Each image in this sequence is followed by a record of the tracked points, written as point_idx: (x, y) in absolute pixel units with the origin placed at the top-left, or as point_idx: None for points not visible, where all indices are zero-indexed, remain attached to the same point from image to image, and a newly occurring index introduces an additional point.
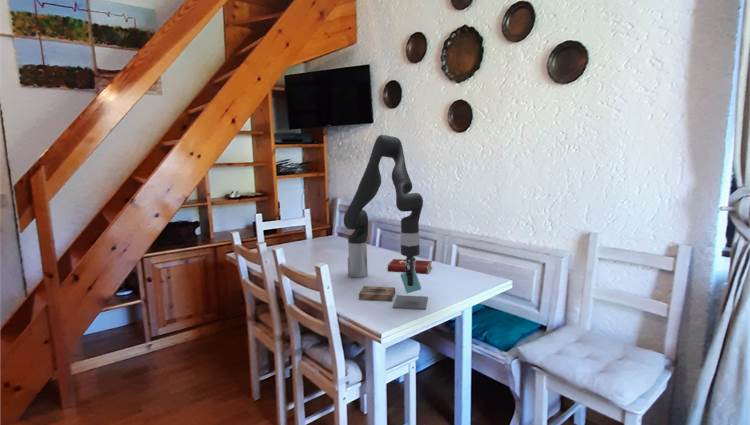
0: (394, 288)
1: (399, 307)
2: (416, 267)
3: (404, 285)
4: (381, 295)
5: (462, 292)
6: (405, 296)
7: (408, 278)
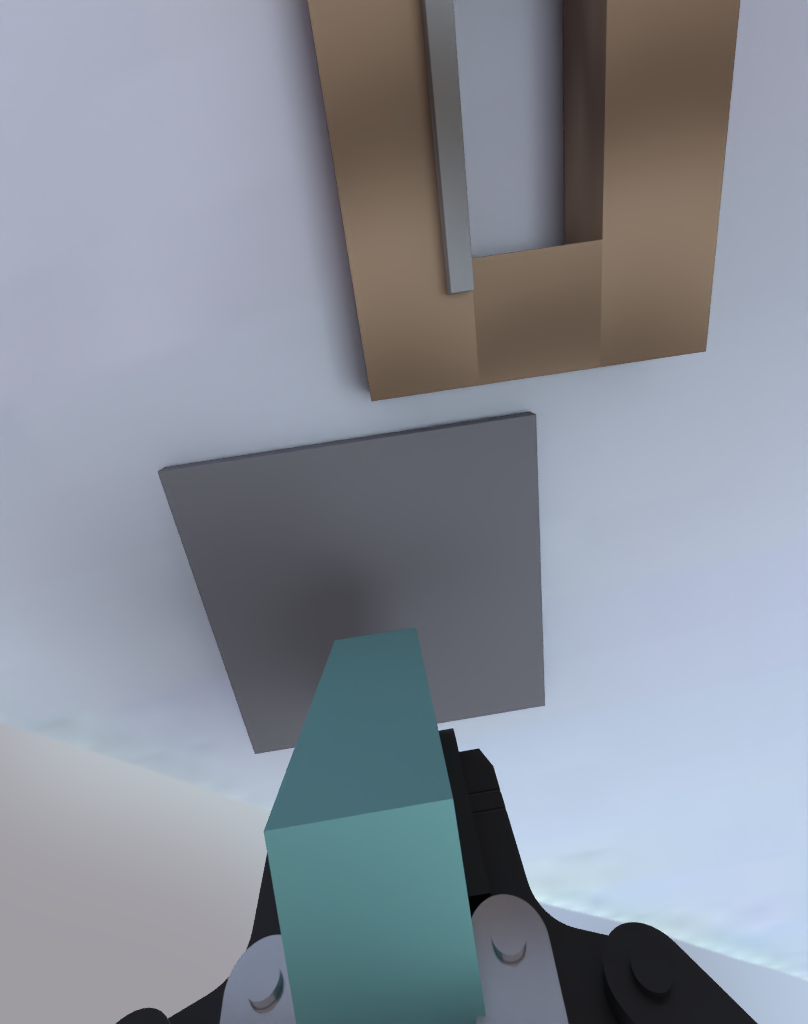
0: (654, 356)
1: (183, 542)
2: None
3: (318, 695)
4: (345, 234)
5: (692, 865)
6: (510, 517)
7: (254, 929)
